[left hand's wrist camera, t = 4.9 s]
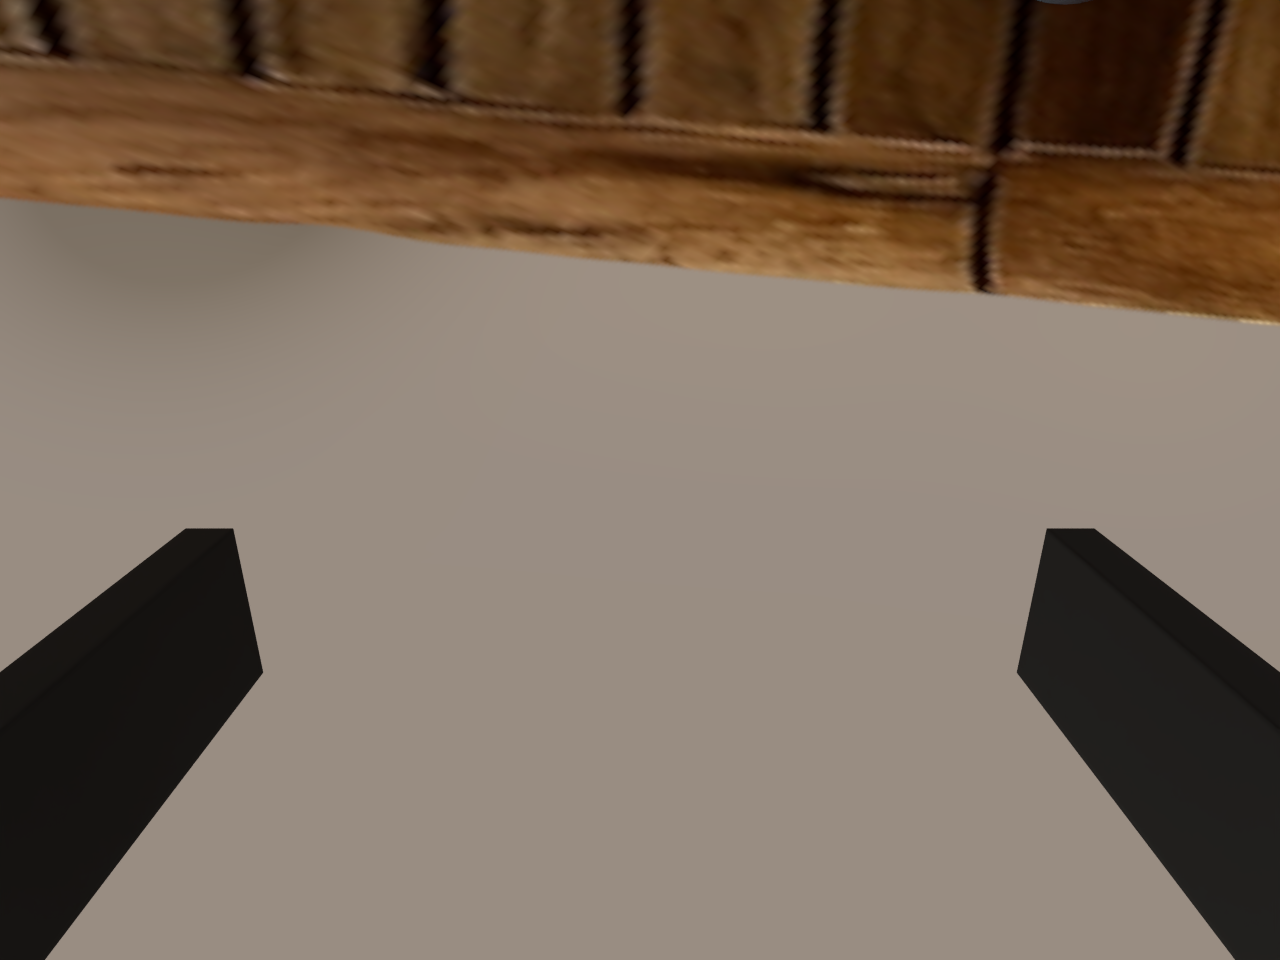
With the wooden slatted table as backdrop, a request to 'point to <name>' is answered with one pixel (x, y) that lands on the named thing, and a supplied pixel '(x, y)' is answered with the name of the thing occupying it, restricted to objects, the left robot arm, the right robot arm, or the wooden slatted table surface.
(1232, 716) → the left robot arm
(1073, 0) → the jar
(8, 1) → the wooden slatted table surface
